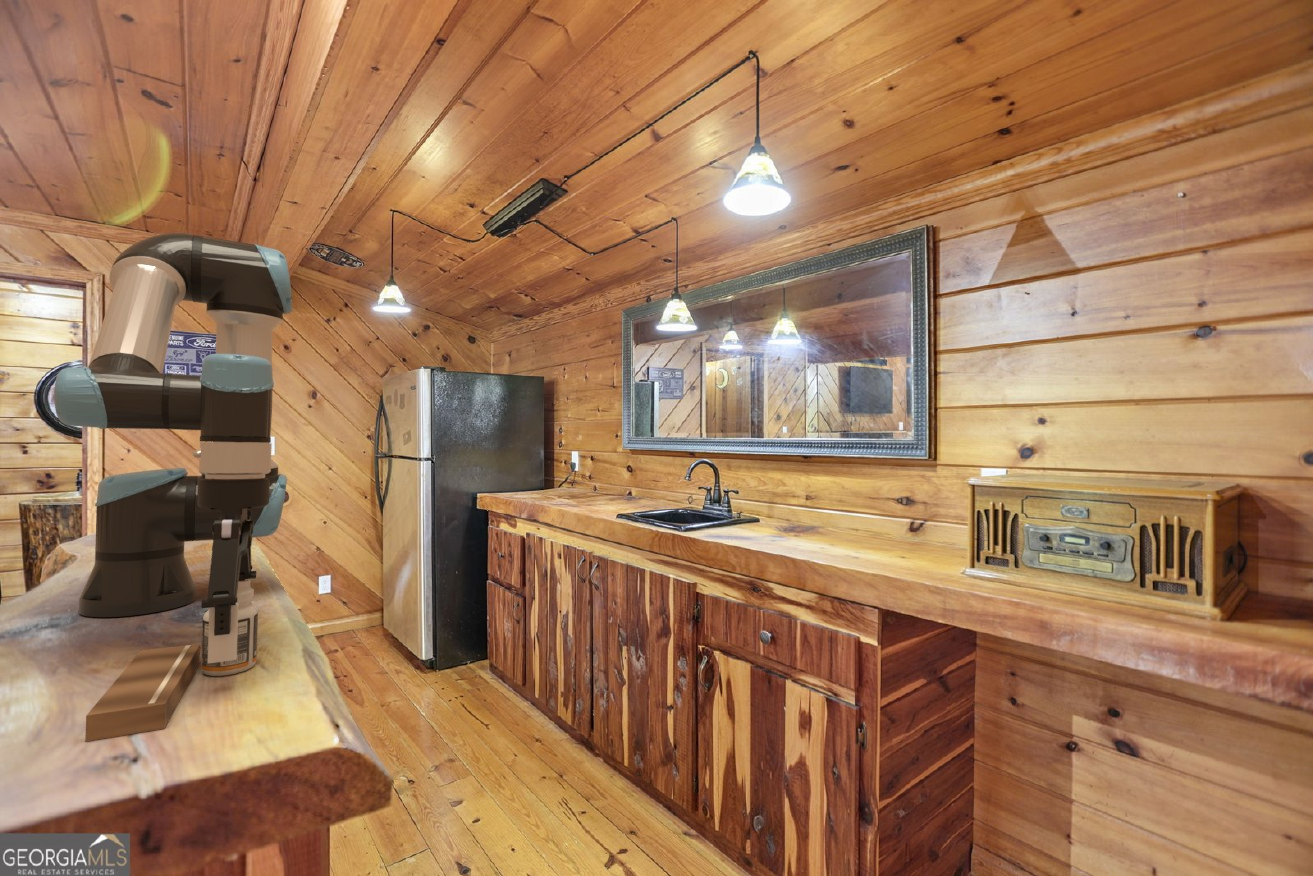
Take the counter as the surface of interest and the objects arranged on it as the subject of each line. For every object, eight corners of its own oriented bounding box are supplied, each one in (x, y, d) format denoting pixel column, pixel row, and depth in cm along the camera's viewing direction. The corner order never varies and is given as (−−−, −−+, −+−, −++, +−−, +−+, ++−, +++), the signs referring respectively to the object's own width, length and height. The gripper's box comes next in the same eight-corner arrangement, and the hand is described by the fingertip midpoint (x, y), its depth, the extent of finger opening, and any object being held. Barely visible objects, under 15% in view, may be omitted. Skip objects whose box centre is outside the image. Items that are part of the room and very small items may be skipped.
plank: (140, 670, 75) (141, 649, 75) (199, 662, 78) (200, 642, 78) (85, 741, 58) (86, 714, 58) (164, 728, 61) (165, 702, 61)
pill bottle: (220, 661, 79) (222, 585, 79) (265, 660, 79) (267, 585, 80) (190, 678, 73) (192, 596, 73) (239, 677, 74) (242, 596, 74)
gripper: (214, 472, 86) (209, 621, 85) (177, 482, 64) (171, 683, 63) (276, 472, 89) (272, 615, 89) (261, 481, 67) (256, 671, 67)
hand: (230, 644), depth 76 cm, fingers open, 13 cm apart
